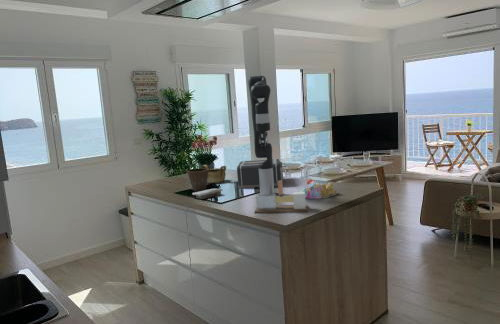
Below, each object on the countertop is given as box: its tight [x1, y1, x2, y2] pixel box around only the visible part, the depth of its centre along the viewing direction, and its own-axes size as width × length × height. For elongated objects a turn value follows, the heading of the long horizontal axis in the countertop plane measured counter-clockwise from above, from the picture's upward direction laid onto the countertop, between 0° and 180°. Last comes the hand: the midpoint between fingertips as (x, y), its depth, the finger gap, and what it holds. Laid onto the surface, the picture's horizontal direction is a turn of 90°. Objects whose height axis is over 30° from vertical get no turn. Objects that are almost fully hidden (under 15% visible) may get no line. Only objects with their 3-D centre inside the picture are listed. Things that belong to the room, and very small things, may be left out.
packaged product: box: [192, 188, 223, 200], centre depth 263 cm, size 18×5×10 cm
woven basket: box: [201, 164, 227, 184], centre depth 312 cm, size 22×17×15 cm
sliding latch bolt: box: [275, 180, 294, 204], centre depth 216 cm, size 3×17×12 cm, turn 80°
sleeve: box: [256, 193, 278, 210], centre depth 218 cm, size 5×10×7 cm, turn 80°
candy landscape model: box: [300, 178, 338, 200], centre depth 248 cm, size 25×24×9 cm
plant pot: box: [186, 167, 208, 192], centre depth 285 cm, size 15×15×16 cm
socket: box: [292, 191, 307, 209], centre depth 215 cm, size 6×6×8 cm
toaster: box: [236, 158, 287, 189], centre depth 294 cm, size 30×36×17 cm
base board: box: [254, 204, 309, 214], centre depth 217 cm, size 12×28×1 cm, turn 80°
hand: (265, 151), depth 219 cm, fingers open, 8 cm apart
